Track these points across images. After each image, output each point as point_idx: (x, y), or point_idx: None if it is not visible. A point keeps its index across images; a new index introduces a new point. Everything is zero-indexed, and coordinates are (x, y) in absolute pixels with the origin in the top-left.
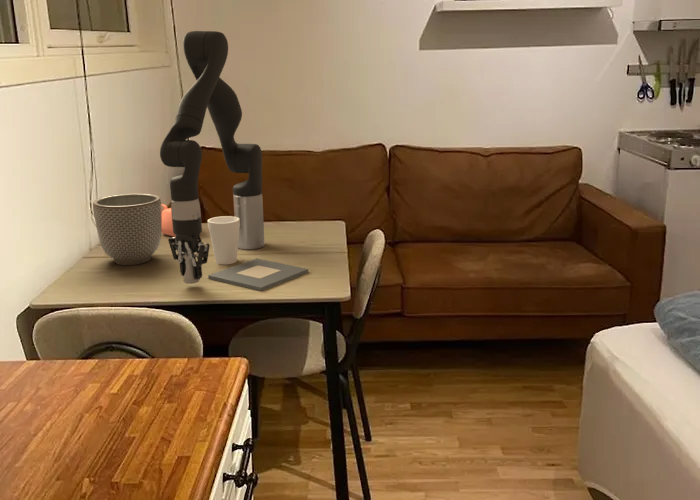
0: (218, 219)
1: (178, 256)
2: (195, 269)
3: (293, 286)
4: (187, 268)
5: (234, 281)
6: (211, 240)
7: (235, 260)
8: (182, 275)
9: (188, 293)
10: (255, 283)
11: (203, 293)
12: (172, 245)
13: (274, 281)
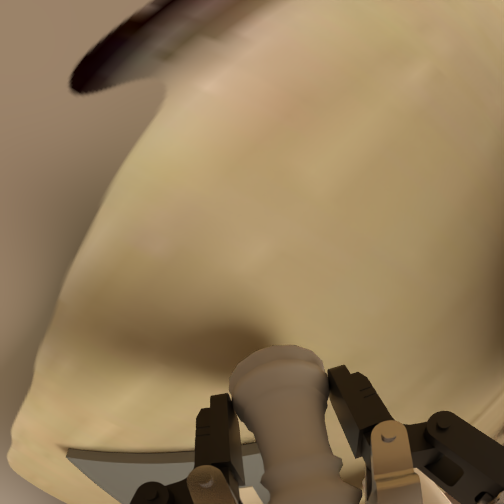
0: None
1: (410, 458)
2: (211, 448)
3: (80, 484)
4: (287, 427)
5: (168, 463)
6: (439, 494)
7: (363, 487)
8: (334, 368)
9: (183, 298)
10: (110, 472)
11: (135, 348)
12: (502, 482)
13: (106, 489)
